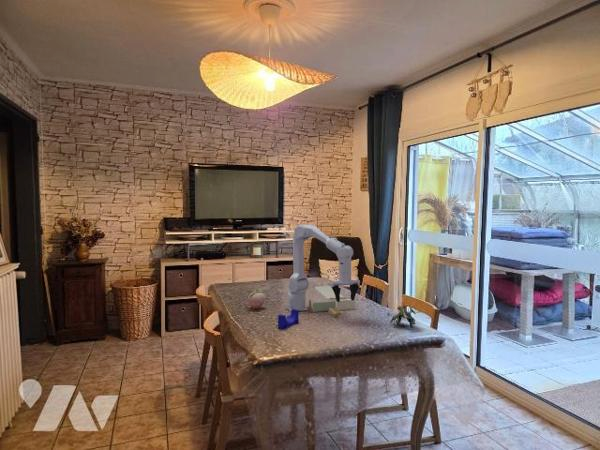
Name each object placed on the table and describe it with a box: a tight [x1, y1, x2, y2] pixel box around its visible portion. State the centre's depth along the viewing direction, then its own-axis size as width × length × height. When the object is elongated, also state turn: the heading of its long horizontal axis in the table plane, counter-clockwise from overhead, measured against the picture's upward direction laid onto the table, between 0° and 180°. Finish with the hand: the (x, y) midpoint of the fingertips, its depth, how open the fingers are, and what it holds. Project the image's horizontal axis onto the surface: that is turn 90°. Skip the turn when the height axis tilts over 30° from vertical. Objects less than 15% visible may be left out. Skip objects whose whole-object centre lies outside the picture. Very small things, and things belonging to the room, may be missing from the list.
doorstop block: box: [328, 308, 344, 319], centre depth 189 cm, size 4×10×2 cm, turn 12°
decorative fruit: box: [247, 289, 267, 310], centre depth 198 cm, size 9×8×10 cm
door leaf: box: [312, 300, 337, 313], centre depth 195 cm, size 12×2×4 cm, turn 108°
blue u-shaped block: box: [277, 309, 300, 330], centre depth 172 cm, size 12×4×6 cm, turn 148°
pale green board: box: [308, 298, 356, 314], centre depth 196 cm, size 25×1×6 cm, turn 108°
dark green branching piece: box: [387, 305, 417, 328], centre depth 171 cm, size 11×11×12 cm
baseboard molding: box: [312, 283, 346, 300], centre depth 235 cm, size 31×3×12 cm
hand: (345, 300), depth 180 cm, fingers open, 7 cm apart
